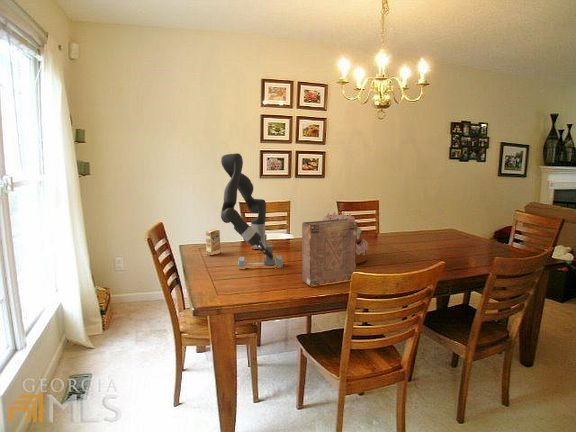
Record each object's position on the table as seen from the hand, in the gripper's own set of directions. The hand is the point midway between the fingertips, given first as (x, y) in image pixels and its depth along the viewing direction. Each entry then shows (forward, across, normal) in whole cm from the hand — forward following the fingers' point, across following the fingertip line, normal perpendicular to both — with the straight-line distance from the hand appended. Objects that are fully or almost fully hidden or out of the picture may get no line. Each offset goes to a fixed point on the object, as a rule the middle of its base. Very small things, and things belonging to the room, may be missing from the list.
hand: (271, 255), depth 206 cm
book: (+24, -27, -14) cm, 39 cm away
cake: (+34, +12, -24) cm, 43 cm away
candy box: (-20, +30, +30) cm, 46 cm away
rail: (0, 0, +9) cm, 9 cm away
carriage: (+3, 0, +5) cm, 5 cm away
